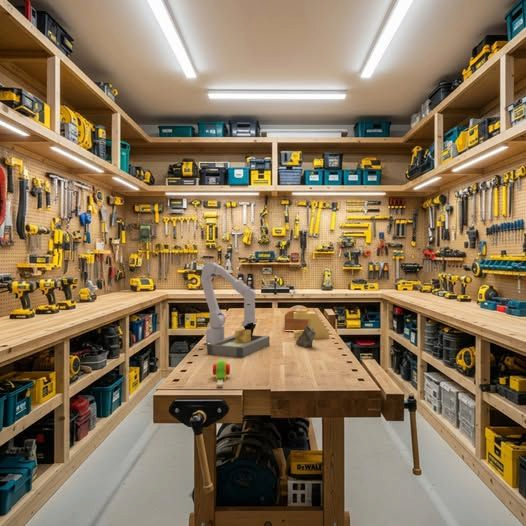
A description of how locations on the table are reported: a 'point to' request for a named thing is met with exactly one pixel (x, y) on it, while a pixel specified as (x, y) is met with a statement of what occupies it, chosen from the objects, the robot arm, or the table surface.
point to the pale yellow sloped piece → (311, 324)
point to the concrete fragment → (306, 337)
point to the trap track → (237, 346)
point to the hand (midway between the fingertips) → (249, 337)
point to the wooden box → (295, 323)
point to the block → (242, 336)
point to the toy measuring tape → (221, 372)
